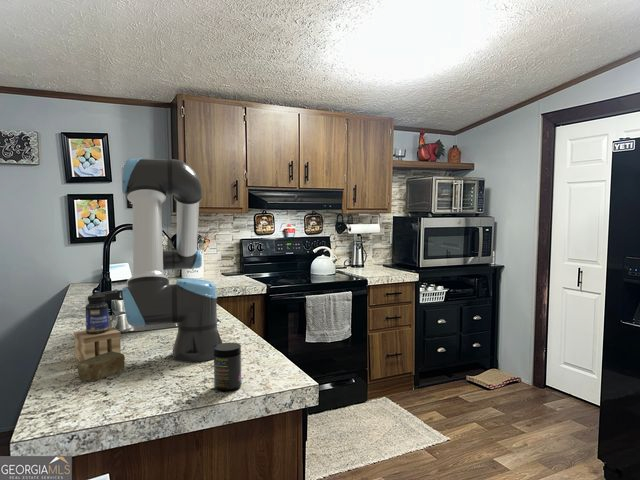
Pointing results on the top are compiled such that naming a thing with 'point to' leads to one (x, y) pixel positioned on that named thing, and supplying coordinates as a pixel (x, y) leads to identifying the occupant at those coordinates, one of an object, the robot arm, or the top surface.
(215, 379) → the supplement container
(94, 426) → the top surface
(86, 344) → the block
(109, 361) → the stone block
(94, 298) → the pill bottle
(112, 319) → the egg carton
